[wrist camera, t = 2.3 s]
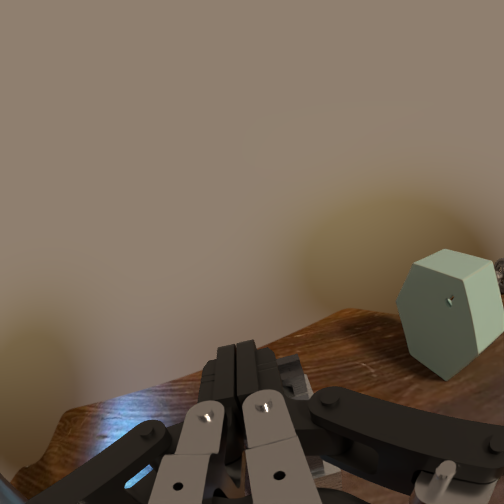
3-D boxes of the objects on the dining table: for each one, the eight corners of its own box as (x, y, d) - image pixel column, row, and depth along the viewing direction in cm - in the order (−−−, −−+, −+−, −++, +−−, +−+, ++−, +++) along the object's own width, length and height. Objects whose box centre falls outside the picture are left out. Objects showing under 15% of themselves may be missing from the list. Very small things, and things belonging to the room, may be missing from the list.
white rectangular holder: (342, 493, 22) (338, 451, 20) (264, 511, 22) (240, 473, 20) (311, 401, 40) (301, 352, 38) (255, 415, 40) (237, 368, 38)
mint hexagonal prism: (461, 371, 38) (527, 305, 23) (431, 392, 37) (501, 332, 22) (416, 302, 49) (456, 222, 35) (386, 317, 48) (423, 235, 34)
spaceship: (436, 272, 52) (456, 268, 44) (528, 251, 49) (546, 246, 41) (440, 309, 50) (460, 310, 43) (531, 280, 48) (550, 278, 40)
